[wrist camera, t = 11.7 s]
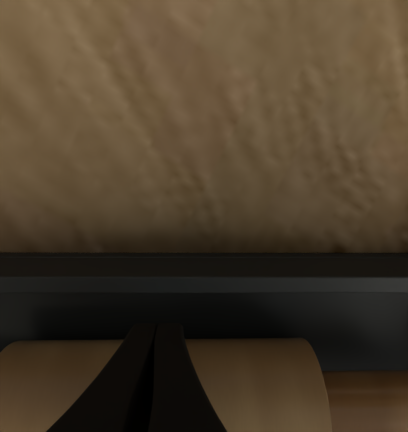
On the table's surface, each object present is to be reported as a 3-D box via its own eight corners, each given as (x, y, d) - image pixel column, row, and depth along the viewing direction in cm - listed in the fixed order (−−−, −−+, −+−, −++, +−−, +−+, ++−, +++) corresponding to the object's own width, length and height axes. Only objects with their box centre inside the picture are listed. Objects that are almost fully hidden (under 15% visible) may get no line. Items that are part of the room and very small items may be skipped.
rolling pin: (427, 498, 12) (379, 368, 15) (504, 466, 9) (424, 312, 12) (-117, 508, 12) (-50, 373, 15) (-226, 479, 9) (-114, 317, 12)
